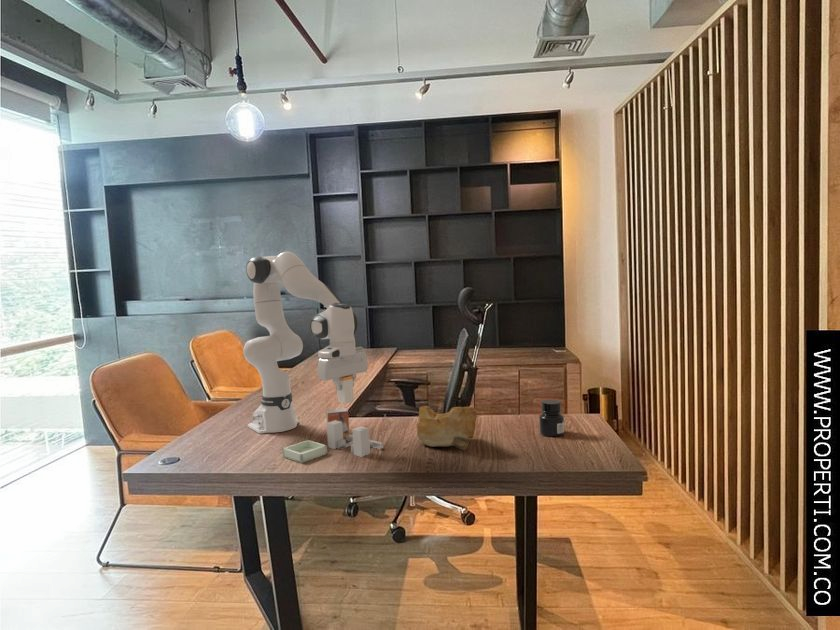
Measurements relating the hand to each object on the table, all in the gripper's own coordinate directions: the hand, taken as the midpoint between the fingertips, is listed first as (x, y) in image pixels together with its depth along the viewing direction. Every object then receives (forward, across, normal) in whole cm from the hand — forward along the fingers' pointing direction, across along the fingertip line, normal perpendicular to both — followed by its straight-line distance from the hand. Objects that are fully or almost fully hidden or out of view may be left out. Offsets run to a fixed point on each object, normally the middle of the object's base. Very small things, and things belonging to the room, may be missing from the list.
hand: (344, 388), depth 173 cm
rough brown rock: (+22, -26, +27) cm, 44 cm away
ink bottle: (+22, -55, +51) cm, 78 cm away
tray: (+22, +12, -9) cm, 27 cm away
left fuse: (+22, 0, -7) cm, 23 cm away
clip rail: (+22, -4, 0) cm, 22 cm away
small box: (+22, -8, -15) cm, 28 cm away
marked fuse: (+5, 0, 0) cm, 5 cm away
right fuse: (+22, 0, +7) cm, 23 cm away
